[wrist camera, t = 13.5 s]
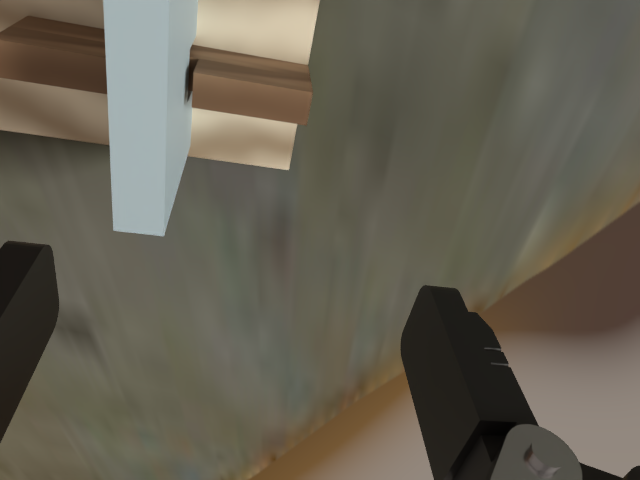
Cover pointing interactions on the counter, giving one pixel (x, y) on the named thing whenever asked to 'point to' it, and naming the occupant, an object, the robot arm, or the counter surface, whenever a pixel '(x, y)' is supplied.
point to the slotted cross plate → (148, 107)
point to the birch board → (207, 126)
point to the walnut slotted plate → (204, 70)
